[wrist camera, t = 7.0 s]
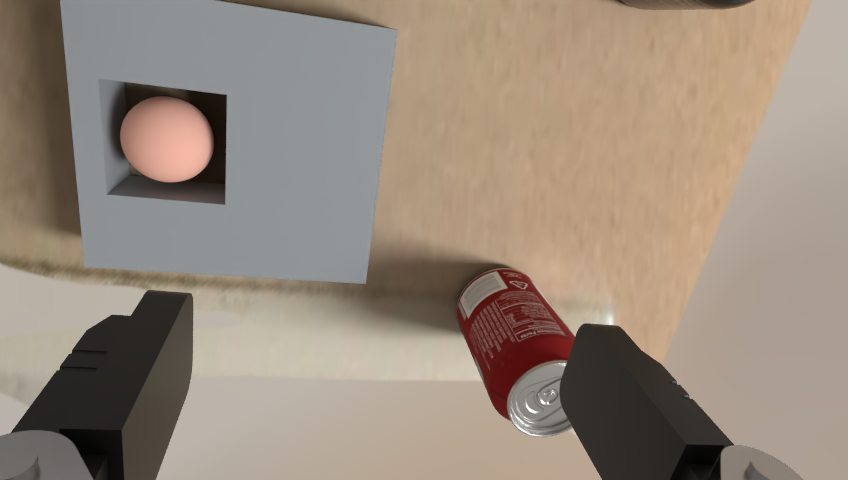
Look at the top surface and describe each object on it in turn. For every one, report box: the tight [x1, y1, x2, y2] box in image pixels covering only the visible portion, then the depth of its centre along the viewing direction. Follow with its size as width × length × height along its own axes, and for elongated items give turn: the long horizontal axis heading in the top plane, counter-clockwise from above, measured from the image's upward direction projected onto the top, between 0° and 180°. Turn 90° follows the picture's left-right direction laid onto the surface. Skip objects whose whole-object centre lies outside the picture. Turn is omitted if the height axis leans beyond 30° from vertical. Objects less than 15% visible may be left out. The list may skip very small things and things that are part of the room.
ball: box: [120, 96, 214, 182], centre depth 31 cm, size 5×5×5 cm
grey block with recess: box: [60, 0, 397, 284], centre depth 33 cm, size 16×17×4 cm
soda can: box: [456, 268, 575, 437], centre depth 37 cm, size 7×7×12 cm
